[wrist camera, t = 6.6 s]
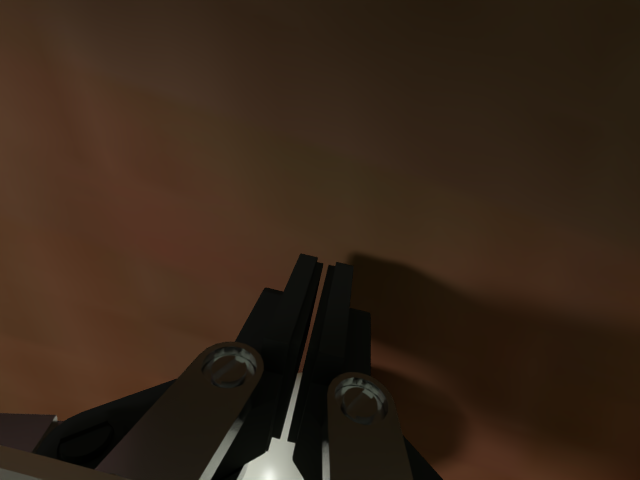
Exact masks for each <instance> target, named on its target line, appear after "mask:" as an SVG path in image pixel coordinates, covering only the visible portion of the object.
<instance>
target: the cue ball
mask: <svg viewBox="0 0 640 480" xmlns="http://www.w3.org/2000/svg"><path fill="white" fill-rule="evenodd" d="M302 373H303V372H302ZM302 373H298V374H297V377H296V381H295V385H294V389H293V393H292V396H291V400H290V404H289V408H288V412H287V415H286V419H285V423H284V427H283V431H282V434H281V438H280V439H277V438H273V437H272V440H271V443H270V446H269V450H268V451H266V452H265V453H264V454H263V455H261V456H259V457H257V458H256V459H254V460H252V461H250V462H249V464H248V467H247V470H246V473H245V475H244V477H243V479H242V480H303V477H302V475H301V474H300V472H299V470H298V469H297V467H296V465H295V464H294V462H293V461H292V459H293V458H292V456H293V451H294V447H295V443H292V442H288V441H287V439H288V434H289V430H290V425H291V421H292V417H293V412H294V408H295V403H296V399H297V395H298V390H299V386H300V381H301V377H302Z"/></svg>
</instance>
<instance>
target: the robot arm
mask: <svg viewBox="0 0 640 480" xmlns="http://www.w3.org/2000/svg"><path fill="white" fill-rule="evenodd" d="M317 259H318V257H313V256H309V255H305V254H300V256H299V258H298V260H297V263H296V265H295V267H294V269H293V272H292V274H291V276H290V279H289V281H288V283H287V285H286V288H285V290H284V292H282V291H278V290H274V289H270V288H264V290H263V292H262V293H261V295H260V297H259V299H258V301H257V302H256V304H255V306H254V308H253V310H252V312H251V313H250V315H249V317H248V319H247V321H246V322H245V324H244V326H243V328H242V330H241V331H240V333H239V335H238V337H237V339H236V341H235V342H222V343H217V344H215V345H212V346H210V347H208V348H206V349H205V350H204V351H203V352H202V353H200V354H199V355H198V356H197V358H196V359H195V360H194V361H193V362H192V363H191V364H190V365H189V366H188V367H187V369H186V370H185V371H184V372H183V373H182V374H181V375H180V376H179V377H178V378H177V379H174V380H172V381H169V382H166V383H163V384H160V385H157V386H155V387H152V388H149V389H146V390H143V391H140V392H138V393H135V394H132V395H129V396H126V397H123V398H121V399H118V400H115V401H112V402H109V403H106V404H104V405H101V406H98V407H95V408H92V409H90V410H87V411H84V412H81V413H79V414H77V415H75V416H73V417H71V418H68V419H67V420H65V421H57V416H56V415H39V414H8V413H0V480H242V479H243V477H244V475H245V473H246V470H247V467H248V464H249V462H250V461H252V460H254V459H256V458H257V457H259V456H261V455H263V454H264V453H265V452H266V451H268V450H269V446H270V443H271V440H272V437H273V438H277V439H280V438H281V434H282V431H283V427H284V423H285V419H286V415H287V412H288V408H289V404H290V400H291V396H292V393H293V389H294V385H295V381H296V377H297V374H298V370H299V366H300V362H301V358H302V355H303V351H304V347H305V343H306V339H307V335H308V331H309V326H310V322H311V317H312V313H313V308H314V304H315V299H316V295H317V290H318V286H319V281H320V277H321V272H322V268H323V263H319V262H317ZM353 268H354V266H352V265H347V264H343V263H339V262H336V266H332V265H329V266H328V270H327V274H326V278H325V282H324V286H323V290H322V294H321V298H320V302H319V306H318V310H317V314H316V318H315V322H314V326H313V330H312V334H311V339H310V343H309V347H308V351H307V355H306V360H305V364H304V368H303V373H302V377H301V381H300V386H299V390H298V395H297V399H296V403H295V408H294V412H293V417H292V421H291V425H290V430H289V434H288V439H287V441H288V442H292V443H295V447H294V451H293V456H292V458H293V459H292V461H293V462H294V464H295V465H296V467H297V469H298V470H299V472H300V474H301V475H302V477H303V480H443V479H442V478H441V477H440V476H439V474H438V473H437V472H436V471H435V470H434V469H433V468H432V467H431V466H430V465H429V463H428V462H427V461H426V460H425V459H424V458H423V457H422V456H421V455H420V454H419V452H418V451H417V450H416V449H415V448H414V447H413V446H412V445H411V444H410V443H409V441H408V440H407V439H406V438H405V437H404V436H403V435H402V431H401V427H400V423H399V419H398V414H397V410H396V406H395V403H394V400H393V398H392V395H391V394H390V392H389V391H388V390H387V389H386V387H385V386H384V385H383V384H381V383H380V382H379V381H378V380H376V379H374V378H373V377H371V315H370V313H369V312H365V311H361V310H357V309H352V308H349V307H350V297H351V287H352V278H353Z"/></svg>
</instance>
